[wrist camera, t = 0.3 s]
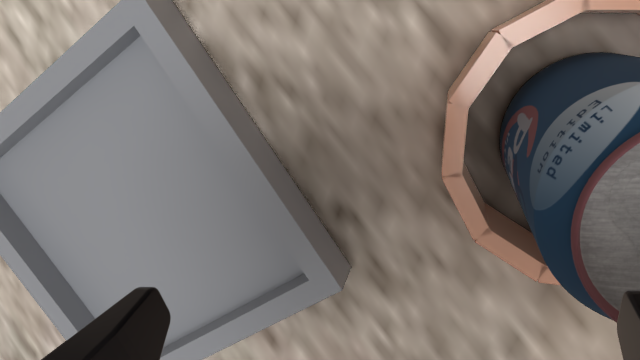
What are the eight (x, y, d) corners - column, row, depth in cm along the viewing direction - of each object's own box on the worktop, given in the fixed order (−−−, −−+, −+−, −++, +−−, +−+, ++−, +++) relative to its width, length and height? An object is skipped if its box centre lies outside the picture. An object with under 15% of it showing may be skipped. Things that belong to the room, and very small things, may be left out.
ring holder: (600, 296, 24) (624, 339, 21) (396, 165, 24) (389, 186, 21) (807, 90, 20) (878, 102, 16) (554, -64, 20) (575, -82, 17)
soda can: (467, 109, 23) (488, 187, 12) (618, 16, 20) (829, 3, 9) (544, 230, 24) (634, 413, 12) (699, 155, 21) (985, 300, 10)
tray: (351, 267, 26) (342, 290, 24) (138, 376, 32) (114, 403, 30) (165, -10, 25) (136, -14, 22) (-26, 160, 31) (-64, 171, 28)
